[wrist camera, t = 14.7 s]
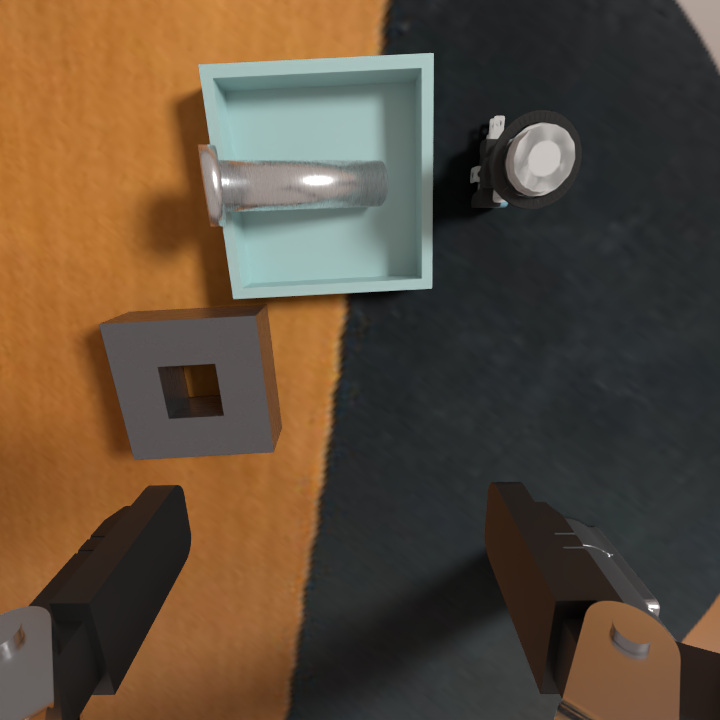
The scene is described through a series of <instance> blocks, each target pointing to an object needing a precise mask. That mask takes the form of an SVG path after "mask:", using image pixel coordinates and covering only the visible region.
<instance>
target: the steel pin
mask: <svg viewBox="0 0 720 720" xmlns="http://www.w3.org/2000/svg"><path fill="white" fill-rule="evenodd" d="M198 151H199V159H200V166H201V173H202V180H203V186H204V193H205V199H206V205H207V211H208V217H209V222H210V227H220V226H226V212H245V211H272V210H298V209H325V208H351V207H378V206H382V205H383V204H384V202H385V199H386V196H387V191H388V176H387V170H386V167H385V165H384V163H383V162H382V161H381V160H218V155H217V150H216V146H215V144H198Z"/></svg>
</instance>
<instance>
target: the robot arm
mask: <svg viewBox="0 0 720 720" xmlns="http://www.w3.org/2000/svg"><path fill="white" fill-rule="evenodd" d="M485 545H486V551H487V555H488V558H489V561H490V564H491V566H492V569H493V571H494V574H495V577H496V579H497V582H498V585H499V587H500V590H501V592H502V595H503V598H504V600H505V603H506V605H507V608H508V611H509V613H510V616H511V618H512V621H513V624H514V626H515V629H516V631H517V634H518V637H519V639H520V642H521V644H522V647H523V650H524V652H525V655H526V657H527V660H528V663H529V665H530V668H531V670H532V673H533V676H534V678H535V681H536V683H537V686H538V689H539V691H540V694H560V695H561V698H562V702H561V704H560V703H559V706H558V709H557V712H556V715H555V719H554V720H720V654H719V653H716V652H712V651H708V650H704V649H700V648H697V647H693V646H689V645H686V644H683V643H680V642H677V641H676V640H675V639H674V638H673V636H672V635H671V634H670V632H669V631H668V630H667V629H666V627H665V626H664V625H663V623H662V622H661V621H660V619H659V618H658V614H659V610H660V605H659V603H658V601H657V600H656V598H655V597H654V596H653V595H652V594H651V592H650V591H649V590H648V589H647V587H646V586H645V585H644V584H643V583H642V581H641V580H640V579H639V578H638V576H637V575H636V574H635V573H634V571H633V570H632V569H631V568H630V567H629V565H628V564H627V563H626V562H625V560H624V559H623V558H622V557H621V556H620V554H619V553H618V552H617V551H616V549H615V548H614V547H613V546H612V544H611V543H610V542H609V541H608V540H607V538H606V537H605V536H604V535H603V533H602V532H601V531H600V530H599V529H598V527H587V526H585V525H584V524H582V523H580V522H579V521H576V520H573V519H568V518H564V517H563V515H561V514H560V513H559V512H557V511H556V510H555V509H553V508H552V507H551V506H549V505H548V504H547V503H545V502H534V500H533V499H532V497H531V495H530V494H529V492H528V491H527V489H526V488H525V486H524V485H523V483H521V482H491V483H490V485H489V490H488V500H487V511H486V522H485ZM190 546H191V531H190V526H189V520H188V514H187V508H186V502H185V497H184V492H183V489H182V487H181V486H179V485H161V486H148V487H147V488H146V489H145V490H144V491H143V492H142V493H141V494H140V496H139V497H138V498H137V499H136V500H135V502H134V503H133V504H132V505H131V506H125V507H123V508H122V509H120V510H119V511H117V512H116V513H114V514H113V515H111V516H110V517H109V518H107V519H106V520H104V522H103V523H102V524H101V525H100V526H99V527H98V528H97V529H96V531H95V532H94V533H93V534H92V535H91V538H90V540H87V541H86V542H85V543H84V544H83V545H82V546H81V548H80V549H79V550H78V553H77V554H74V555H73V557H72V558H71V559H70V560H69V561H68V562H67V563H66V564H65V566H64V567H63V568H62V569H61V570H60V571H59V572H58V573H57V575H56V576H55V577H54V578H53V579H52V580H51V581H50V582H49V584H48V585H47V586H46V587H45V588H44V589H43V590H42V591H41V593H40V594H39V595H38V596H37V597H36V598H35V599H34V600H33V602H32V603H31V604H30V605H29V606H27V607H21V608H17V609H14V610H11V611H8V612H6V613H3V614H1V615H0V720H84V718H83V714H82V711H83V709H84V707H85V706H86V704H87V702H88V700H89V699H90V697H91V695H115V694H116V692H117V690H118V688H119V686H120V684H121V682H122V680H123V679H124V677H125V675H126V673H127V671H128V669H129V667H130V665H131V663H132V662H133V660H134V658H135V656H136V654H137V652H138V650H139V648H140V647H141V645H142V643H143V641H144V639H145V637H146V635H147V633H148V632H149V630H150V628H151V626H152V624H153V622H154V620H155V618H156V617H157V615H158V613H159V611H160V609H161V607H162V605H163V603H164V601H165V600H166V598H167V596H168V594H169V592H170V590H171V588H172V586H173V585H174V583H175V581H176V579H177V577H178V575H179V573H180V571H181V570H182V568H183V566H184V564H185V562H186V560H187V558H188V555H189V551H190Z"/></svg>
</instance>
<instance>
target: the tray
mask: <svg viewBox="0 0 720 720" xmlns="http://www.w3.org/2000/svg"><path fill="white" fill-rule="evenodd" d="M199 72H200V79H201V86H202V92H203V99H204V106H205V112H206V119H207V126H208V133H209V139H210V144H215V146H216V150H217V155H218V160H381V161H382V162H383V163H384V165H385V167H386V170H387V176H388V191H387V196H386V199H385V202H384V204H383V205H382V206H378V207H351V208H325V209H298V210H272V211H245V212H226V226H222V227H223V233H224V240H225V247H226V253H227V260H228V267H229V274H230V280H231V287H232V294H233V299H246V298H265V297H283V296H302V295H321V294H339V293H358V292H377V291H395V290H414V289H432V227H433V80H434V53H426V54H405V55H385V56H364V57H344V58H324V59H303V60H283V61H262V62H242V63H222V64H201V65H199Z"/></svg>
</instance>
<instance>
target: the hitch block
mask: <svg viewBox="0 0 720 720" xmlns="http://www.w3.org/2000/svg"><path fill="white" fill-rule="evenodd" d="M99 326H100V330H101V334H102V338H103V342H104V345H105V349H106V353H107V357H108V361H109V365H110V369H111V372H112V376H113V380H114V384H115V388H116V392H117V396H118V399H119V403H120V407H121V411H122V415H123V419H124V422H125V426H126V430H127V434H128V438H129V442H130V446H131V449H132V453H133V457H134V460H144V459H162V458H180V457H197V456H215V455H233V454H251V453H268V452H274V450H275V447H276V444H277V441H278V438H279V435H280V432H281V429H282V424H281V416H280V408H279V400H278V392H277V384H276V376H275V368H274V359H273V351H272V343H271V335H270V327H269V319H268V311H267V305H250V306H232V307H213V308H194V309H176V310H157V311H138V312H128V313H125V314H123V315H120V316H118V317H115V318H113V319H110V320H108V321H106V322H103V323H101V324H99ZM202 364H215V366H216V371H217V377H218V383H219V389H220V395H218V396H200V397H189V395H188V390H187V385H186V380H185V375H184V370H183V365H202Z"/></svg>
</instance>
